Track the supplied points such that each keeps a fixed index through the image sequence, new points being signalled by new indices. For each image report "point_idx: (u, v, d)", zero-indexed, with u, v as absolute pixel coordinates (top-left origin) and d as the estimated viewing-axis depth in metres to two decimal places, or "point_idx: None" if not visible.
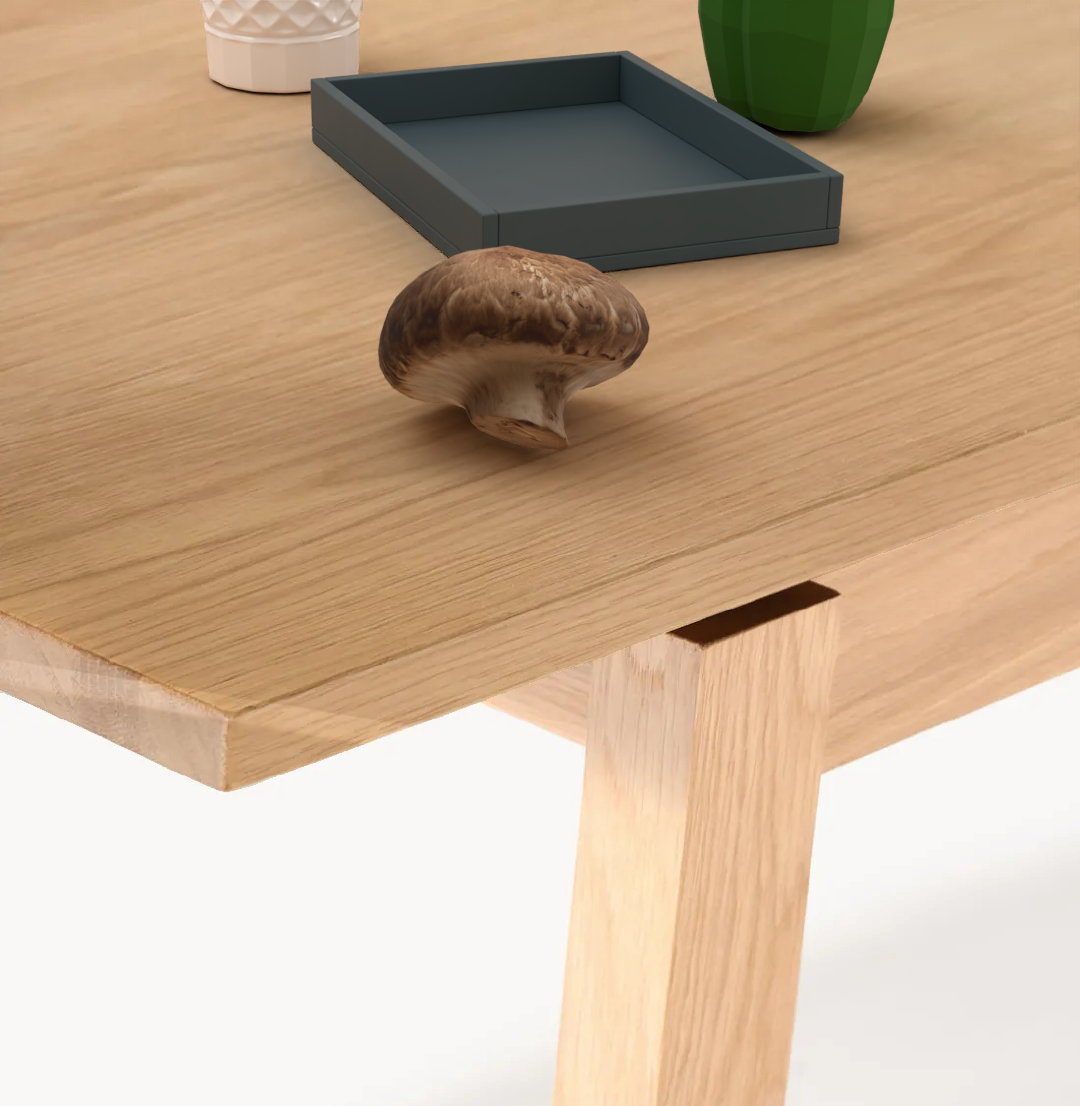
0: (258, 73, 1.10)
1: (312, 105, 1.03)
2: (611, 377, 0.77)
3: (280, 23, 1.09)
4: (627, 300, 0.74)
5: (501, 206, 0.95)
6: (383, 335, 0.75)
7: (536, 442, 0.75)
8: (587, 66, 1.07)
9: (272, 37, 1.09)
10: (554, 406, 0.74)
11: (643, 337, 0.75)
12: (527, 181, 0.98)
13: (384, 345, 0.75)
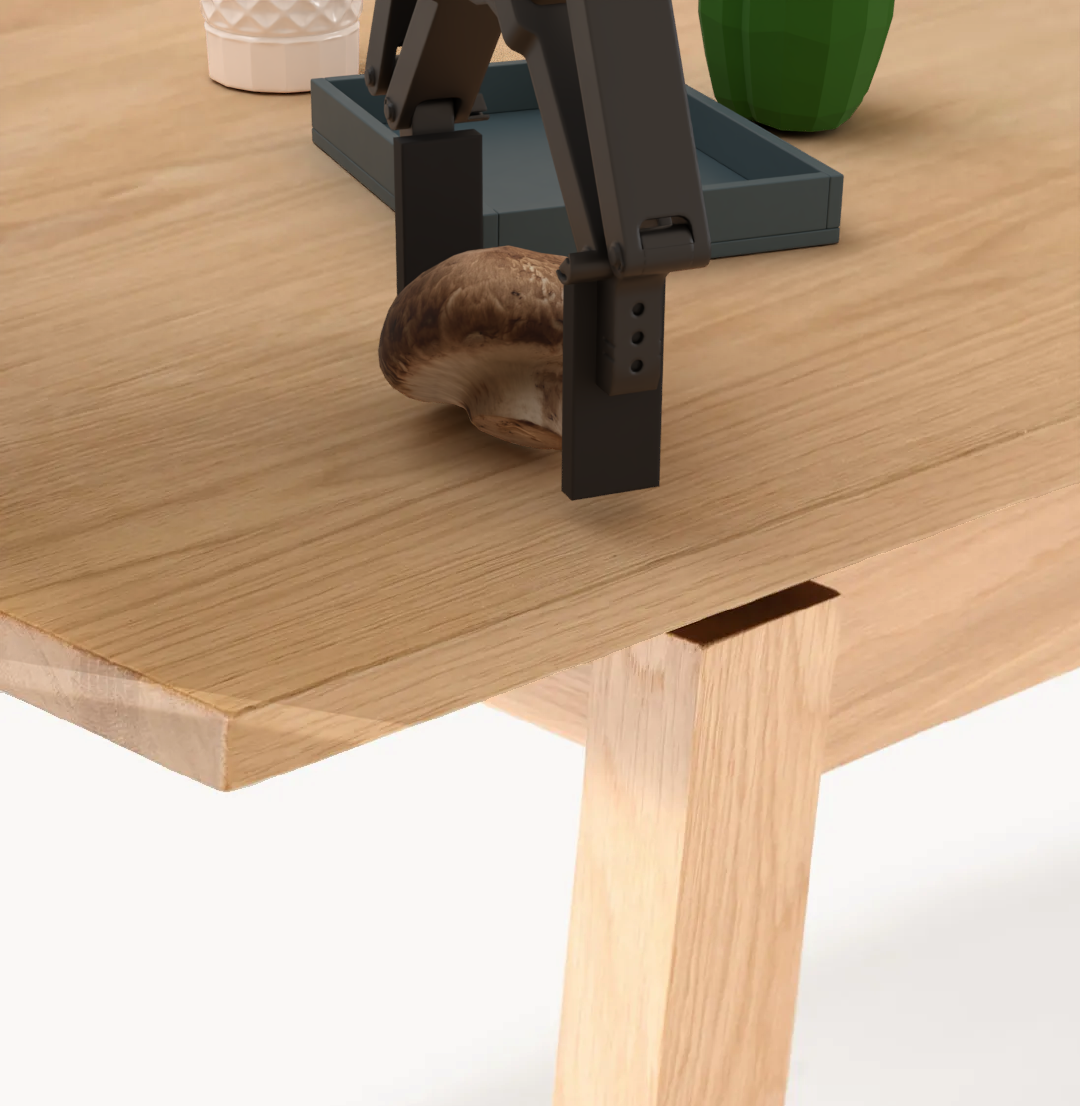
0: (258, 73, 1.10)
1: (312, 105, 1.03)
2: None
3: (280, 23, 1.09)
4: None
5: (501, 206, 0.95)
6: (383, 335, 0.75)
7: (536, 442, 0.75)
8: None
9: (272, 37, 1.09)
10: (554, 406, 0.74)
11: None
12: (527, 181, 0.98)
13: (384, 345, 0.75)
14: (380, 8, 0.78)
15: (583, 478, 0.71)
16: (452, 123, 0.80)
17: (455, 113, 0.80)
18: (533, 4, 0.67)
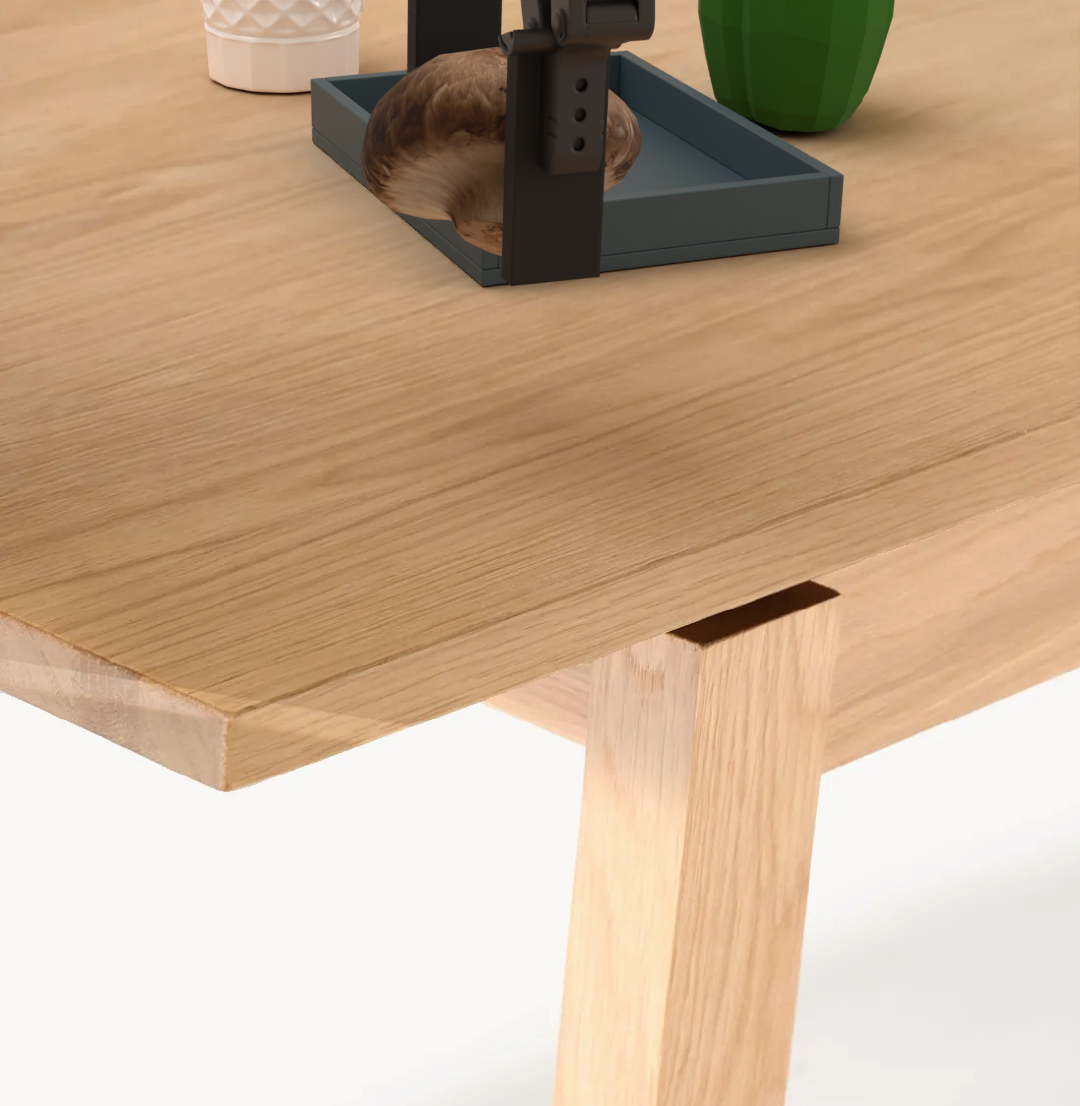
0: (258, 73, 1.10)
1: (312, 105, 1.03)
2: None
3: (280, 23, 1.09)
4: (619, 104, 0.72)
5: None
6: (366, 138, 0.72)
7: None
8: None
9: (272, 37, 1.09)
10: None
11: (635, 145, 0.73)
12: None
13: (367, 148, 0.72)
14: None
15: (523, 263, 0.70)
16: None
17: None
18: None
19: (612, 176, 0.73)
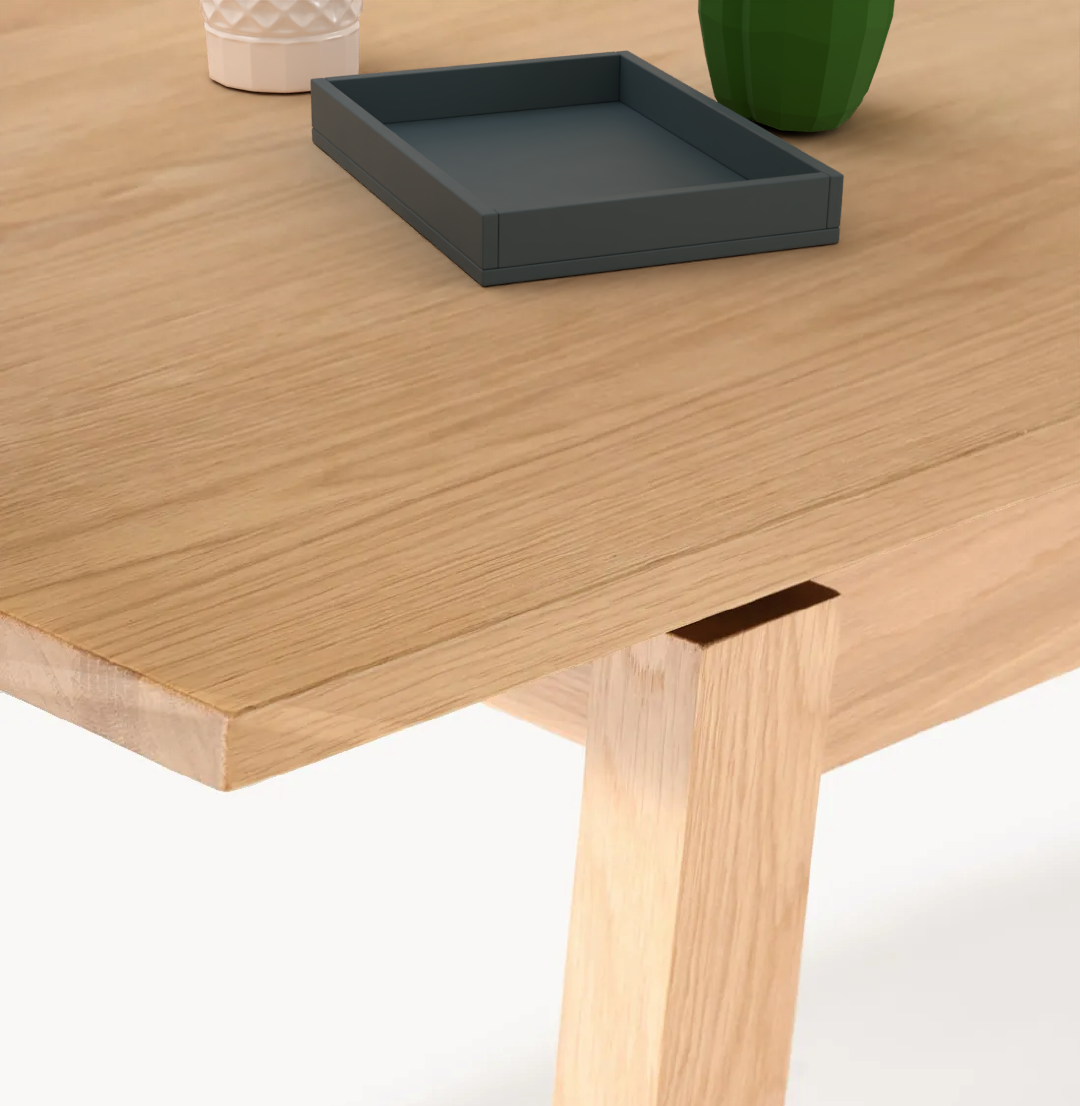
0: (258, 73, 1.10)
1: (312, 105, 1.03)
2: None
3: (280, 23, 1.09)
4: None
5: (501, 206, 0.95)
6: None
7: None
8: (587, 66, 1.07)
9: (272, 37, 1.09)
10: None
11: None
12: (527, 181, 0.98)
13: None
14: None
15: None
16: None
17: None
18: None
19: None
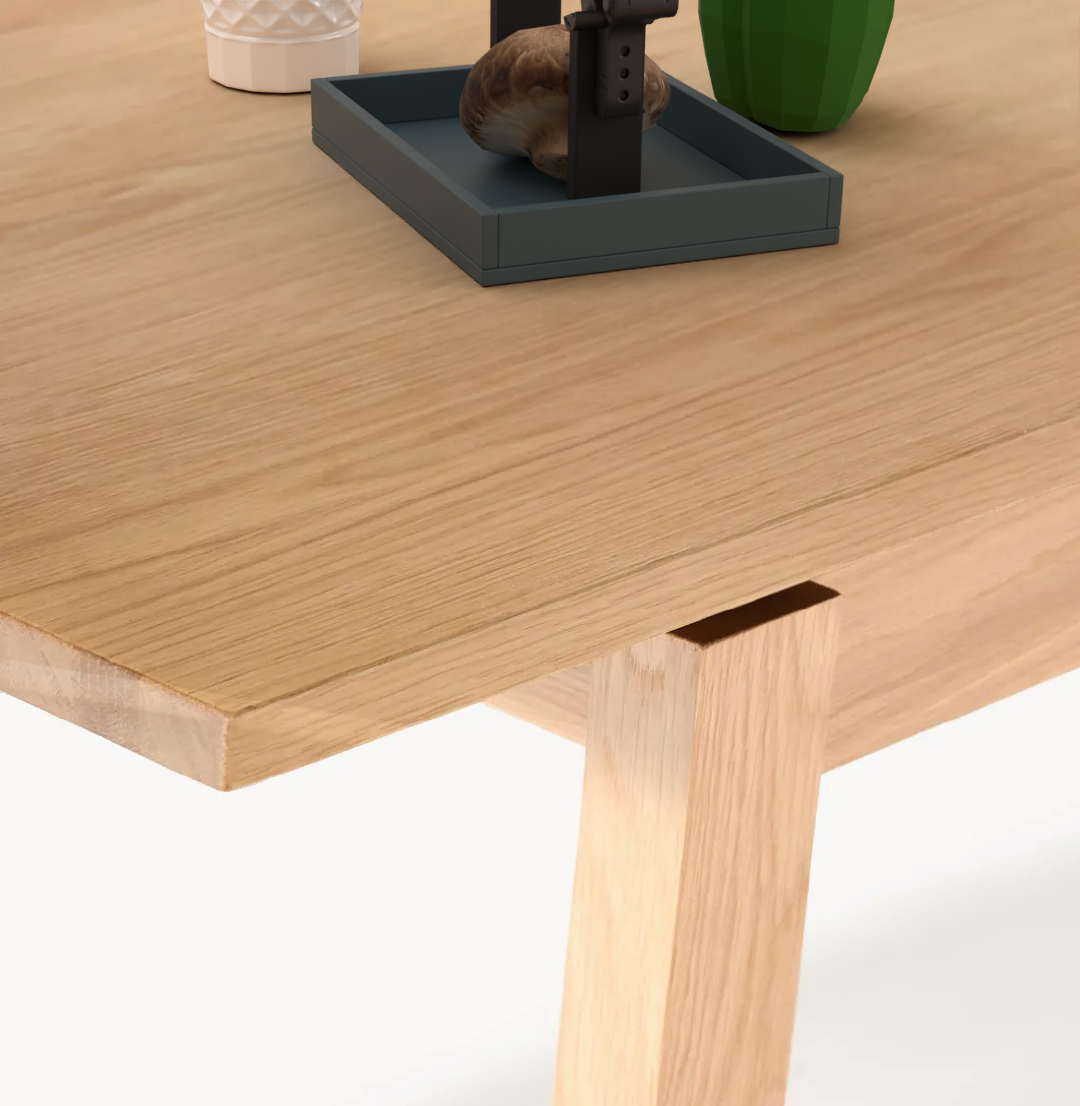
0: (258, 73, 1.10)
1: (312, 105, 1.03)
2: None
3: (280, 23, 1.09)
4: (654, 65, 0.96)
5: (501, 206, 0.95)
6: (464, 93, 0.96)
7: None
8: None
9: (272, 37, 1.09)
10: None
11: (666, 96, 0.97)
12: (527, 181, 0.98)
13: (465, 101, 0.96)
14: None
15: (583, 186, 0.94)
16: None
17: None
18: None
19: (649, 120, 0.97)
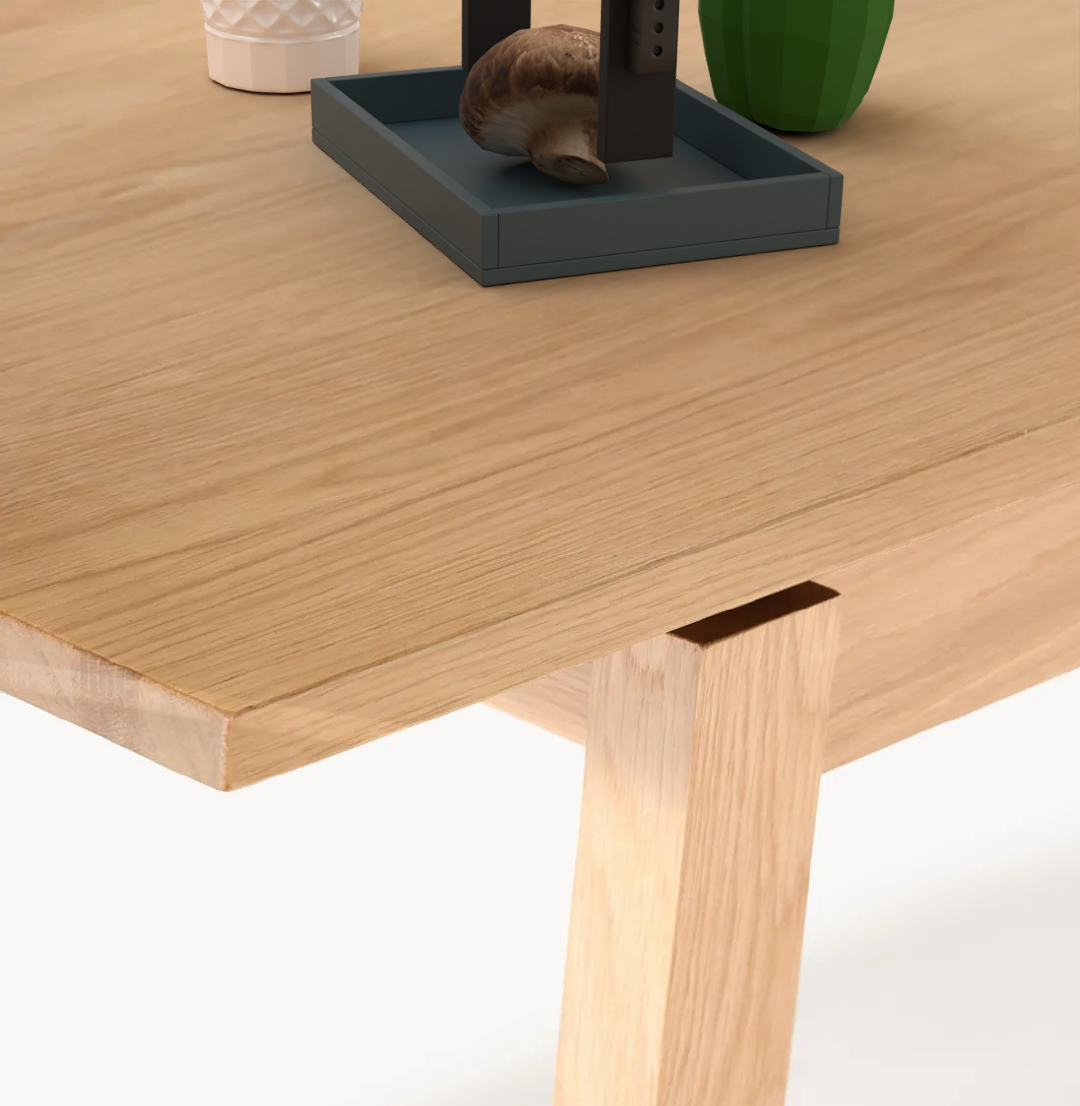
0: (258, 73, 1.10)
1: (312, 105, 1.03)
2: None
3: (280, 23, 1.09)
4: None
5: (501, 206, 0.95)
6: (464, 93, 0.96)
7: (583, 177, 0.96)
8: None
9: (272, 37, 1.09)
10: None
11: None
12: (527, 181, 0.98)
13: (465, 101, 0.96)
14: None
15: (614, 145, 0.91)
16: None
17: None
18: None
19: None
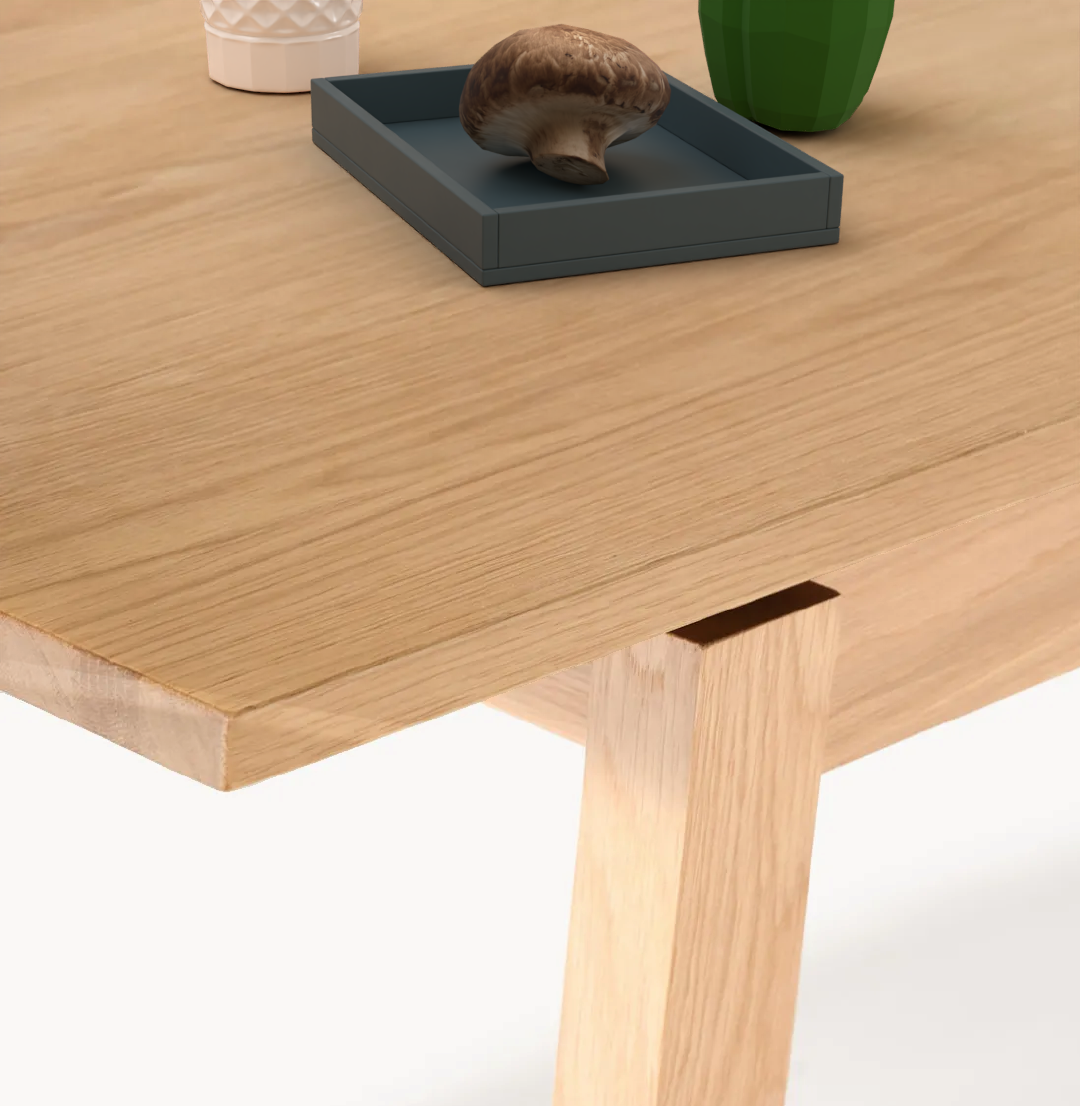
0: (258, 73, 1.10)
1: (312, 105, 1.03)
2: (640, 132, 0.99)
3: (280, 23, 1.09)
4: (654, 65, 0.96)
5: (501, 206, 0.95)
6: (464, 93, 0.96)
7: (583, 177, 0.96)
8: None
9: (272, 37, 1.09)
10: (597, 148, 0.96)
11: (666, 96, 0.97)
12: (527, 181, 0.98)
13: (465, 101, 0.96)
14: None
15: None
16: None
17: None
18: None
19: (649, 120, 0.97)
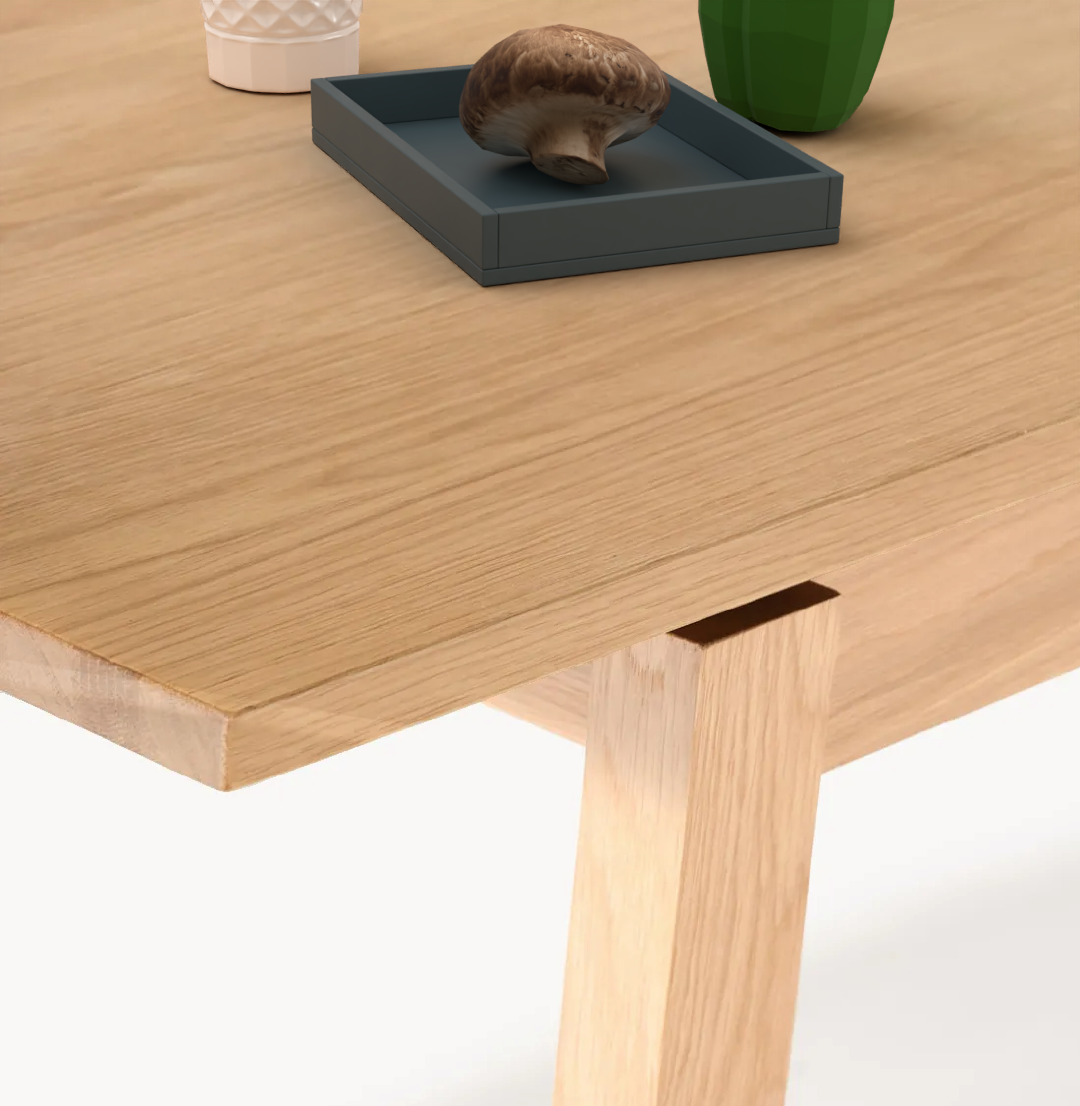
0: (258, 73, 1.10)
1: (312, 105, 1.03)
2: (640, 132, 0.99)
3: (280, 23, 1.09)
4: (654, 65, 0.96)
5: (501, 206, 0.95)
6: (464, 93, 0.96)
7: (583, 177, 0.96)
8: None
9: (272, 37, 1.09)
10: (597, 148, 0.96)
11: (666, 96, 0.97)
12: (527, 181, 0.98)
13: (465, 101, 0.96)
14: None
15: None
16: None
17: None
18: None
19: (649, 120, 0.97)
